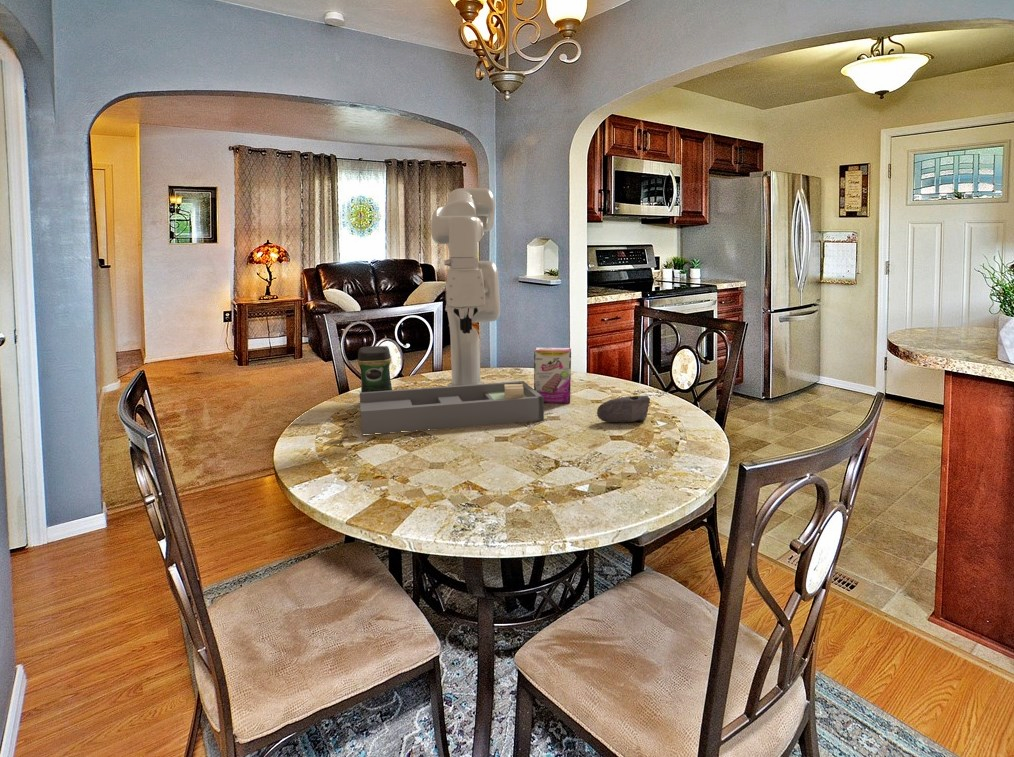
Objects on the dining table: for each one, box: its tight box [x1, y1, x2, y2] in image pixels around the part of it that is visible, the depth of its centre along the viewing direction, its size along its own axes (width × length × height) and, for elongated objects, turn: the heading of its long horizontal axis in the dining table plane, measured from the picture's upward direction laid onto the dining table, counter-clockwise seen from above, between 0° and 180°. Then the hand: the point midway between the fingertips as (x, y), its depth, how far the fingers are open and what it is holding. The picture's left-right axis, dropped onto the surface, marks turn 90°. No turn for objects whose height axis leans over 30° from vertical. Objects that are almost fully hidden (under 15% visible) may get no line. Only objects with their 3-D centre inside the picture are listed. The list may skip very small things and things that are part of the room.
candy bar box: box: [533, 347, 572, 404], centre depth 188 cm, size 11×5×16 cm, turn 84°
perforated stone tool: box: [596, 395, 651, 424], centre depth 167 cm, size 15×5×7 cm, turn 95°
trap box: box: [359, 380, 545, 436], centre depth 174 cm, size 21×48×6 cm, turn 104°
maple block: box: [505, 384, 524, 399], centre depth 171 cm, size 5×5×5 cm
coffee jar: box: [357, 345, 393, 392], centre depth 184 cm, size 10×8×19 cm
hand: (466, 332), depth 169 cm, fingers closed
